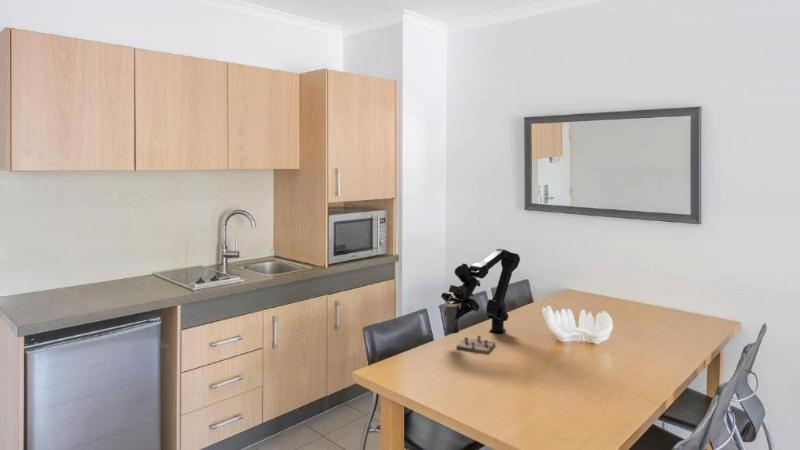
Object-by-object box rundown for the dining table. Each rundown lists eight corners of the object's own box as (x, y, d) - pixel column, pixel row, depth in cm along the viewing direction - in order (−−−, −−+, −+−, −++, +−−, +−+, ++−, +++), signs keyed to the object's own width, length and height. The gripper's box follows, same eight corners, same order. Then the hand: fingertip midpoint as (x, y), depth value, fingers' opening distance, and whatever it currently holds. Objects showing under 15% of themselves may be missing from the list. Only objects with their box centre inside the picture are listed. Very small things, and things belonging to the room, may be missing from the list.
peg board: (464, 340, 249) (465, 332, 249) (495, 344, 244) (495, 336, 243) (456, 348, 239) (456, 340, 238) (487, 353, 233) (487, 345, 232)
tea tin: (447, 328, 245) (447, 300, 243) (461, 329, 243) (461, 301, 241) (444, 332, 239) (444, 303, 238) (457, 334, 237) (457, 304, 235)
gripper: (443, 274, 248) (426, 302, 242) (475, 281, 234) (457, 311, 228) (455, 288, 254) (438, 316, 248) (486, 296, 240) (470, 325, 234)
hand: (450, 317), depth 239 cm, fingers closed on tea tin, 6 cm apart
